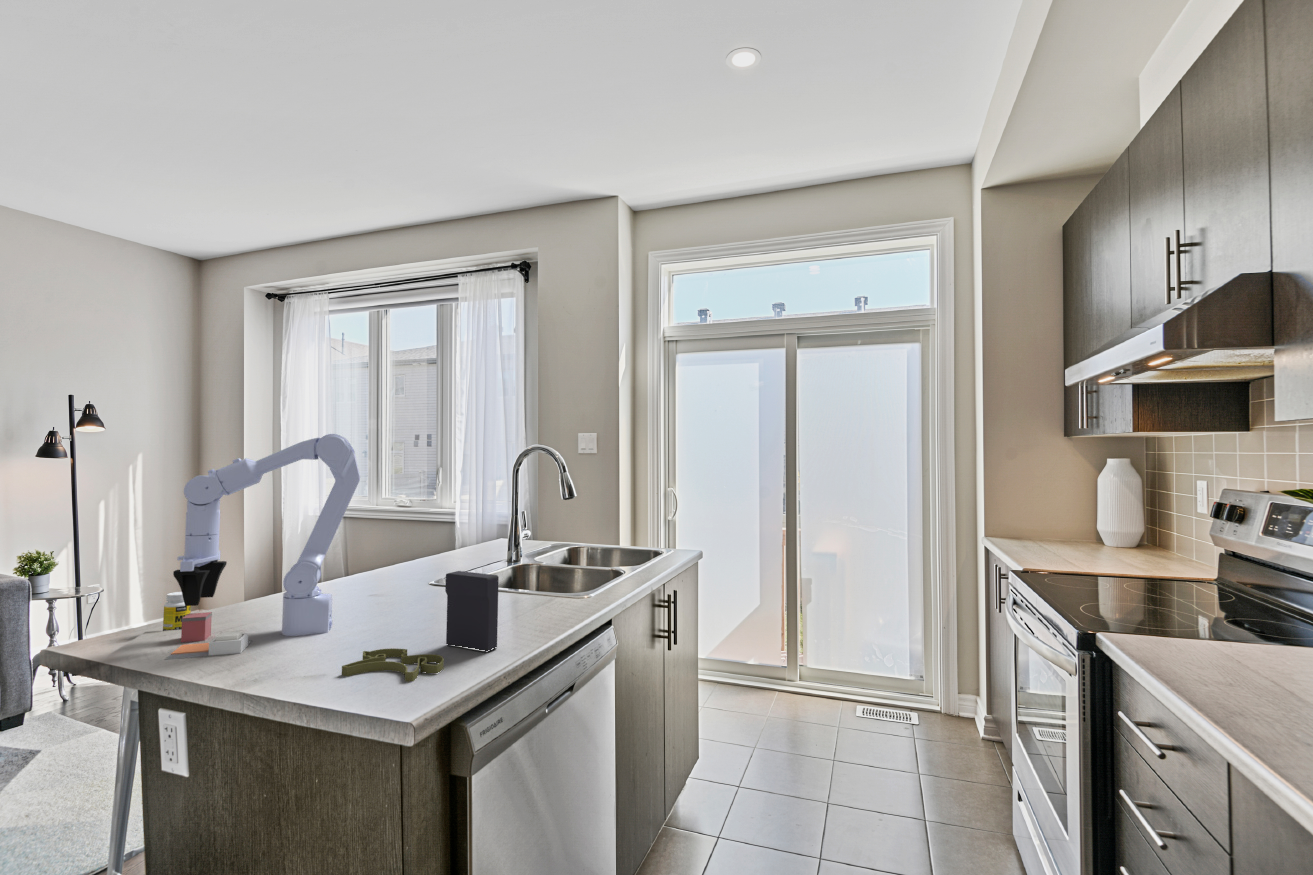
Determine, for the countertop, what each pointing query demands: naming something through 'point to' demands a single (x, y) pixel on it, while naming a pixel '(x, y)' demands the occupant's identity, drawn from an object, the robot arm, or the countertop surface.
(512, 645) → the countertop surface
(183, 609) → the supplement bottle
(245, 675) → the countertop surface
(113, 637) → the countertop surface
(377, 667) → the cookie cutter
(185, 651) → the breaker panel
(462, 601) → the charcoal upright slab
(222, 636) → the button
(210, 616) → the block
